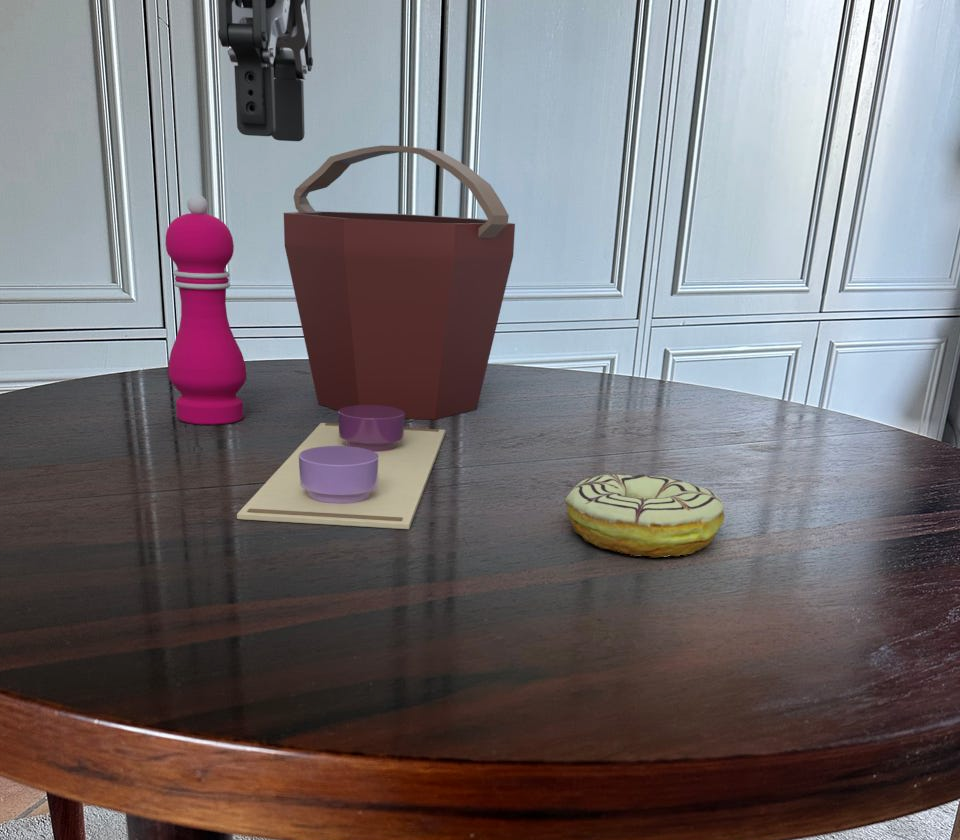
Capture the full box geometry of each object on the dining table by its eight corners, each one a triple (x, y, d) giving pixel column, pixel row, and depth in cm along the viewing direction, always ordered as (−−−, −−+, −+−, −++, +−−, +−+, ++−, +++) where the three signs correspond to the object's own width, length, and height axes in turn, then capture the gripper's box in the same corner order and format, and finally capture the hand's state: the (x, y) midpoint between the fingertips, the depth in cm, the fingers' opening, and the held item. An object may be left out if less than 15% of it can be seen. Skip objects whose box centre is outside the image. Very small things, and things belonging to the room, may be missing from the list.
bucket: (252, 392, 112) (240, 138, 102) (409, 376, 126) (413, 151, 116) (388, 436, 96) (391, 140, 86) (552, 412, 110) (572, 154, 100)
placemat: (237, 519, 71) (236, 512, 71) (320, 426, 98) (320, 421, 98) (409, 529, 71) (409, 522, 70) (445, 433, 98) (445, 428, 98)
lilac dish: (292, 503, 74) (290, 462, 72) (308, 482, 79) (307, 443, 78) (372, 508, 73) (372, 467, 72) (383, 486, 79) (383, 448, 77)
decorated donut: (649, 509, 78) (654, 460, 76) (750, 552, 69) (759, 498, 68) (535, 525, 73) (539, 473, 71) (630, 573, 64) (637, 515, 63)
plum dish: (333, 451, 88) (332, 416, 87) (344, 436, 93) (344, 403, 92) (400, 455, 88) (400, 420, 87) (407, 439, 93) (408, 406, 92)
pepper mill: (260, 422, 99) (250, 197, 91) (187, 429, 95) (170, 194, 87) (231, 408, 104) (220, 194, 96) (161, 413, 100) (143, 191, 92)
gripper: (232, -137, 67) (244, 140, 73) (158, -215, 54) (181, 130, 60) (347, -132, 66) (348, 145, 73) (300, -210, 53) (307, 136, 60)
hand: (273, 138), depth 67 cm, fingers open, 8 cm apart
